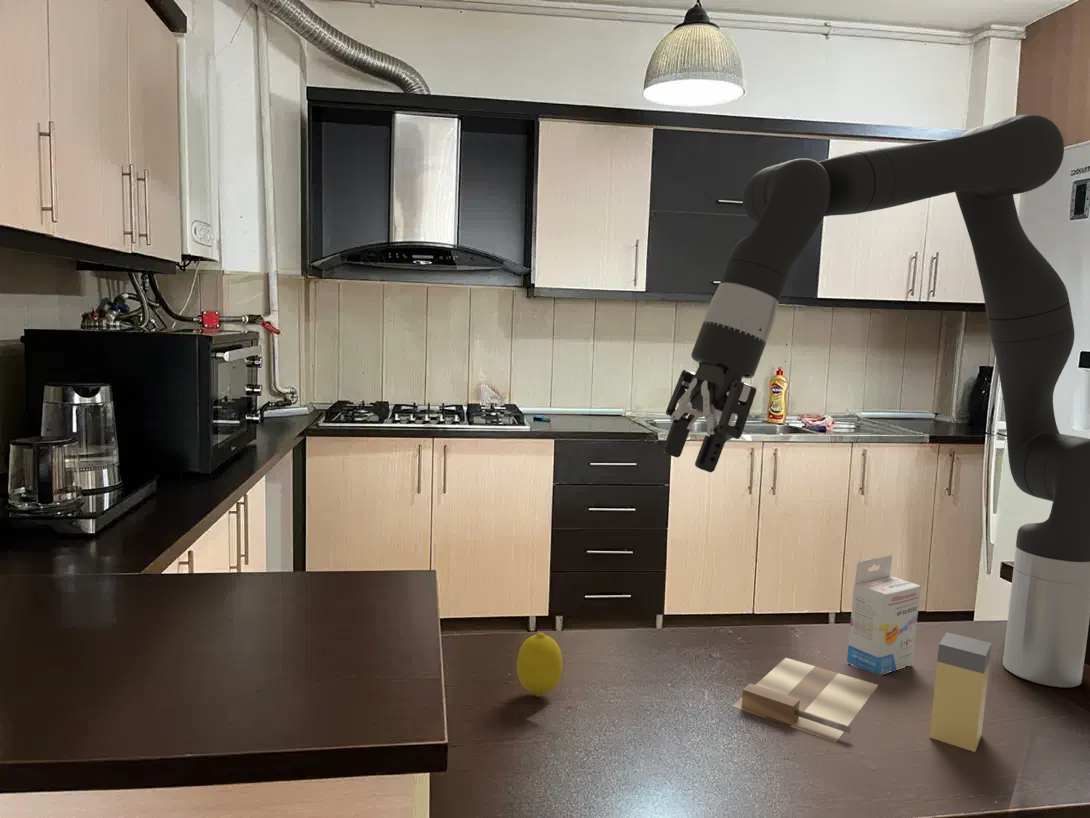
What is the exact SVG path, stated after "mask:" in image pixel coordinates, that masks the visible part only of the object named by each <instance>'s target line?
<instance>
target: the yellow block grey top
mask: <svg viewBox="0 0 1090 818" xmlns="http://www.w3.org/2000/svg"><path fill="white" fill-rule="evenodd" d="M937 651H938V652H937V658H936V659H937V661H936V670H935V671H936V672H935V680H934V692H933V698H932V699H933V700H932V709H931V717H930V718H931V721H930V727H929V728H930V729H929V738H931V739H933V740H936V741H940V742H942V743H945V744H948V745H952V746H955V747H958V748H961V749H965V750H968V751H971V752H973V753H975V752H976V751H977V748H978V745H979V743H980V740H981V738H982V734H983V725H984V716H985V706H986V698H987V697H986V696H987V688H988V681H989V680H988V679H989V670H990V669H989V668H990V660H991V652H992V642H988V641H984V640H980V639H976V638H972V637H968V636H964V635H960V634H956V633H951V632H948V631H946V632H945V634H944V636H943V637H942V638H941V640H940V641H939V643H938V649H937Z"/></svg>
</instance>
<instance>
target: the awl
mask: <svg viewBox="0 0 1090 818" xmlns="http://www.w3.org/2000/svg"><path fill="white" fill-rule="evenodd" d="M741 698H742V708H744V709H747V710H750V711H753V712H756V713H759V714H762V715H765V716H767V717H770V718H773V719H776V720H779V721H782V722H785V723H788V724H791V725H792V724H793V723H794V722H795V721H796V720H797V719H798V718H799V717H802V718H805V719H808V720H811V721H814V722H817V723H820V724H823V725H826V726H829V727H832V728H835V729H838V730H841V731H844V733H847V734H851V732H852V727H851V726H850V725H849V726H846V725H843V724H840V723H837V722H834V721H831V720H828V719H825V718H822V717H819V716H816V715H813V714H810V713H807V712H804V711H801V710H799V706H800V699H797V698H794V697H791V696H788V695H785V694H782V693H779V692H776V691H773V690H769V689H766V688H763V687H760V686H757V685H756V684H753V683H751V682H750V683H749V684H747V685H746V686H745V687H744V688H743V689H742V696H741Z"/></svg>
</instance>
